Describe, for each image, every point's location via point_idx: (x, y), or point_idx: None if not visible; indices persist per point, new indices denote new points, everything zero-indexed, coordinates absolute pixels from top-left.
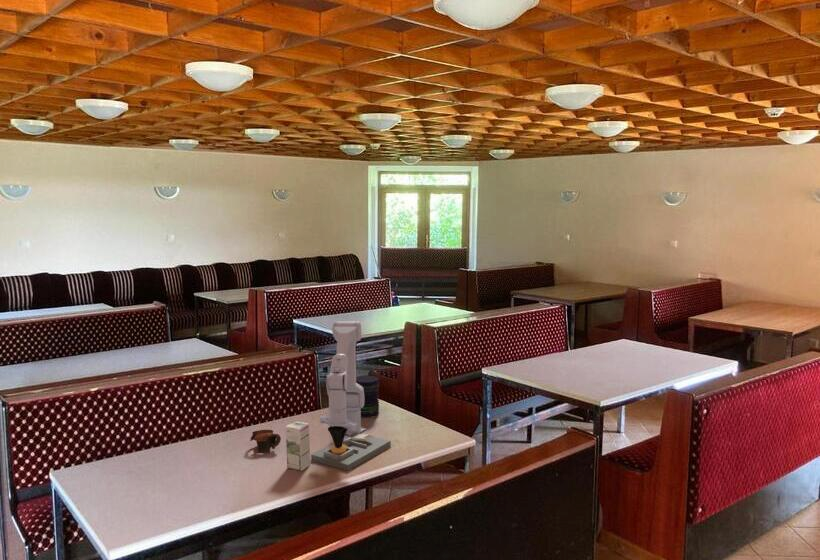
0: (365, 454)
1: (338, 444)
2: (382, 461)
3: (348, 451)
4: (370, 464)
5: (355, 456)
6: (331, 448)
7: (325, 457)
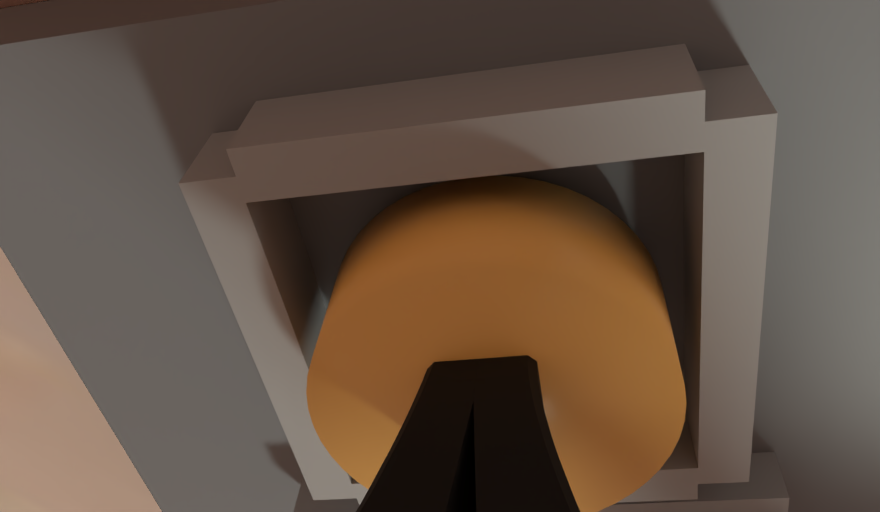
0: (164, 492)
1: (402, 444)
2: (30, 489)
3: (292, 409)
4: (25, 372)
5: (191, 382)
6: (590, 274)
7: (624, 2)
